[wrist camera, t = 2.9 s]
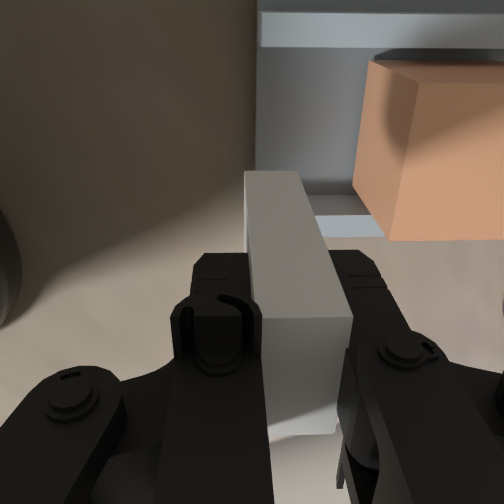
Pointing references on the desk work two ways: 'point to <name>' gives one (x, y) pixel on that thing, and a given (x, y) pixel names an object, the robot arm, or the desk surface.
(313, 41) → the chute
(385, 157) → the block
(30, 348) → the desk surface
